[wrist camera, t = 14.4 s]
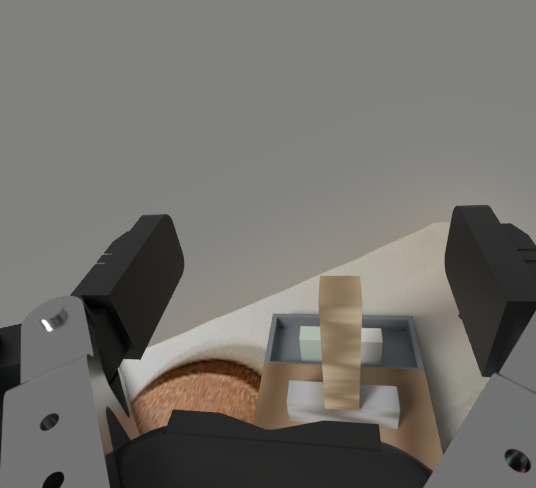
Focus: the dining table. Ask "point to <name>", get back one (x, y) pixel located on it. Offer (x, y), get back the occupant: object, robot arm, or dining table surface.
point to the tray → (392, 327)
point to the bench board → (407, 381)
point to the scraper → (342, 366)
